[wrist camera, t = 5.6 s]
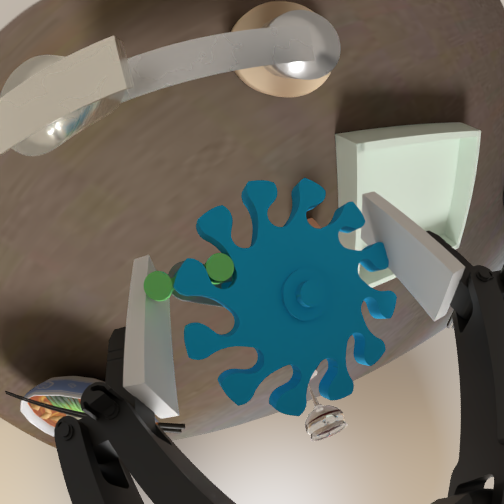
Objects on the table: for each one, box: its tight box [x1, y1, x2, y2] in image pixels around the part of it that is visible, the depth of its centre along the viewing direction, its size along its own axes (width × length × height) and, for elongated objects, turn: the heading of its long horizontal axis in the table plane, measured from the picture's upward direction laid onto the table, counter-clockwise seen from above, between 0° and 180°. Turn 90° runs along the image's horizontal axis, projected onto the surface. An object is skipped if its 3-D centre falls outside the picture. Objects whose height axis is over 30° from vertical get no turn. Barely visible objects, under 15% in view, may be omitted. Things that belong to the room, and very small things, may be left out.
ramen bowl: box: [5, 376, 185, 436], centre depth 32 cm, size 25×23×8 cm
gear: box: [144, 178, 397, 416], centre depth 13 cm, size 11×6×10 cm
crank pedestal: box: [231, 1, 331, 97], centre depth 17 cm, size 8×8×2 cm
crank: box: [0, 10, 341, 156], centre depth 10 cm, size 18×5×12 cm, turn 100°
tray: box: [335, 122, 481, 288], centre depth 28 cm, size 20×18×4 cm
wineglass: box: [305, 370, 348, 441], centre depth 43 cm, size 7×7×12 cm
